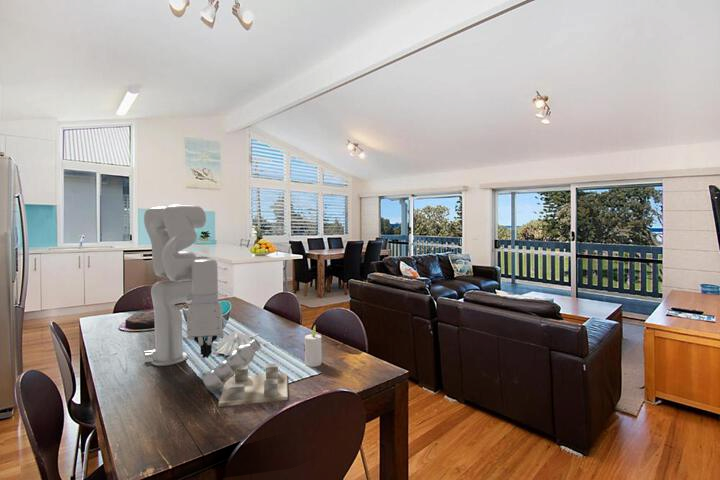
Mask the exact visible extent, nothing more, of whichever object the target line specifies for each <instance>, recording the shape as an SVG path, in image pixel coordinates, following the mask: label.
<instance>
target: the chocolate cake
mask: <svg viewBox="0 0 720 480" xmlns="http://www.w3.org/2000/svg"><path fill="white" fill-rule="evenodd" d="M118 329H119V330H121V331H123V330H124V332H125V331H131V332H132V333H136V332H135V331H146V332H151V331H150V330H152V331H155V321H154V310H146V311H142V312H136V313H133V314H132V315H131V316H130V315H129V316H128V317H127V318H126V319H125V320H124V322H122V323H120V324H119V325H118Z"/></svg>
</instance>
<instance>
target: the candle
mask: <svg viewBox="0 0 720 480" xmlns="http://www.w3.org/2000/svg"><path fill="white" fill-rule="evenodd" d="M316 328H317V326H316V325H315V324H314V326H313V328H312V332H311V333H310V334H306V335H305V336H304V345H303V351H304V365H305V366H306V367H310V368H313V367H319V366H321V365H322V335H321V334H317V333H316V332H317V331H316V330H317V329H316Z"/></svg>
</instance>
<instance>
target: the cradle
mask: <svg viewBox="0 0 720 480" xmlns="http://www.w3.org/2000/svg"><path fill="white" fill-rule="evenodd" d="M287 373H288V372H279V363H267V364H265V374H256V375H255V374H254V375H249V365H246V366H245V367H243V368H242V369H240V370H239V371H238V372H236V373H235V374H234V376H232V377H231V378H230V379H229V380H228V381H227V382H226V383H225V385H224V386H223V389H222V392H221V395H220V398H219V400H218V403H217V405H218V406H217V407H218V408H219V407H229V406H238V405H249V404H259V403H269V402H270V403H271V402H279V401H281V402H282V401H288V400H289V399H288V374H287Z"/></svg>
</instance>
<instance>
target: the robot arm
mask: <svg viewBox="0 0 720 480" xmlns="http://www.w3.org/2000/svg"><path fill="white" fill-rule="evenodd" d="M206 222H207V217H206V212H205V210H204V209H203V208H202V207H201V206H198V205H194V204H193V205H188V204H187V205H186V204H185V205H183V204H182V205H181V204H172V205H168V206H154V207H150V208H148V209H146V210H145V212H144V214H143V223H144V228H145V230H146V232H147V235H148V237H149V240H150V243H151V252H152V253H151V255H152V267H153V271H154V274H155V276H156V277H161V278H162V277H164V278H165V277H167V278H168V279H165V280H160V281H157V282H155V283H154V284H152V285H151V289H150V295H151V296H150V297H151V301H152V307H153V311H154V321H155V330H154V345H155V349H153V350H144V352H143V356H144V358H151V359H150V364H151V365H154V366H158V367H164V366H171V365H176V364H180V363H182V362H185V360H187V358H188V354H187V352H185V351H184V349H183V348H184V346H183V343H184V341H183V314H182V313H181V311H180V310H179V308H177V307H176V304H177V305H178V304H181V303H189V302H191V303H189V305H188V308H187V309H188V310H187V317H186V318H187V319H186V335H187V340H191V341H195V342H196V343H197V344H198V345H199V346H200V355H202V359H206V358H207V359H208V358H209V357H210V356H211V355H212V351H213V346H212V344H213V342H214V341H216V340H217V339H221V338H223V337H224V336H225V332H224V315H223V308H222V304H221V301H219V287H218V286H219V284H218V283H219V282H218V281H219V280H218V279H219V278H218V274H219V273H218V261H216V259H213V258H211V257H209V256H196V254H195V253H194V252H192V251H187V250H185V249H187V248H189V247H191V246H192V245H194V243H196V241H197V237H198V234H197V232H196V230H195V229H201V228H203V227H204V226H205V224H206ZM182 250H185V251H182ZM205 337H207V341H206V339H205Z"/></svg>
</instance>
